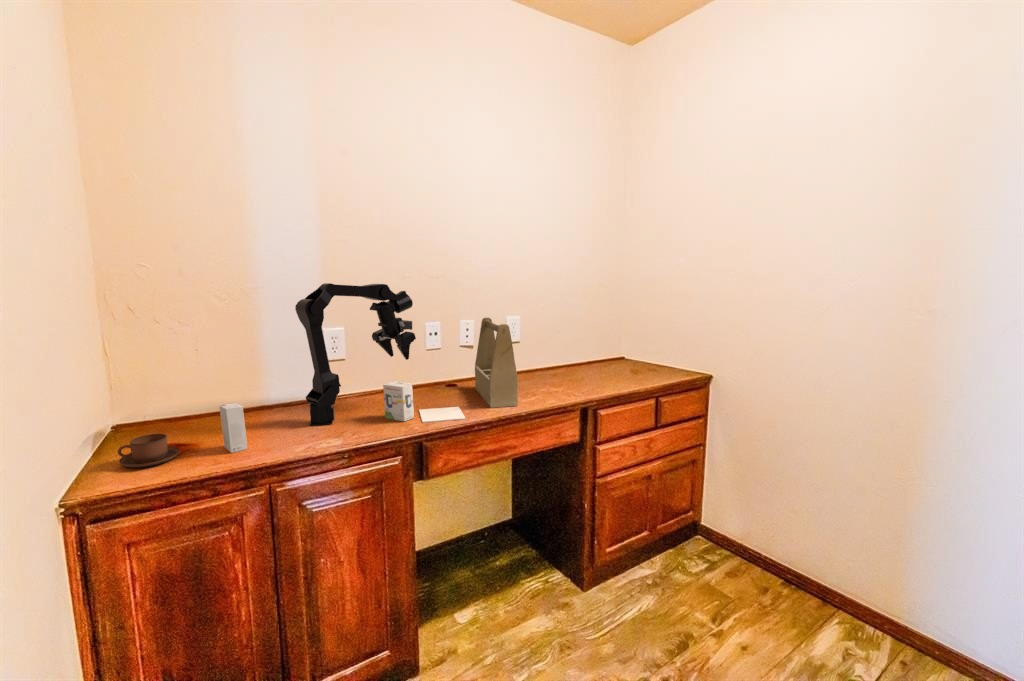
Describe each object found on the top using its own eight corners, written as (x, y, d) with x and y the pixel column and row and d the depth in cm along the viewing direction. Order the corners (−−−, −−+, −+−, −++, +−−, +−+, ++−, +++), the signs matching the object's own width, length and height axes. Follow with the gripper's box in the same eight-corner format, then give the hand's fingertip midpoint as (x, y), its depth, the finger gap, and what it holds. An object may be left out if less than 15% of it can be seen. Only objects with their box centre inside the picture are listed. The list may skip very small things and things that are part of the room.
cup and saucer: (126, 476, 109) (123, 451, 108) (115, 462, 117) (112, 439, 116) (186, 461, 118) (183, 437, 117) (172, 449, 126) (170, 427, 125)
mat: (422, 422, 148) (422, 421, 148) (418, 410, 162) (418, 409, 162) (465, 419, 152) (465, 418, 152) (458, 407, 165) (458, 406, 165)
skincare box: (248, 449, 126) (244, 406, 124) (229, 454, 122) (226, 409, 121) (240, 443, 130) (237, 401, 128) (222, 448, 126) (218, 405, 125)
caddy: (474, 389, 193) (473, 317, 189) (499, 387, 196) (499, 316, 191) (489, 408, 165) (489, 324, 161) (518, 406, 168) (518, 323, 163)
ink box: (414, 418, 153) (413, 383, 152) (404, 422, 149) (402, 386, 147) (394, 414, 157) (393, 380, 156) (383, 418, 153) (382, 383, 151)
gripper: (421, 311, 163) (432, 351, 169) (389, 308, 175) (401, 346, 181) (396, 323, 155) (409, 364, 161) (365, 319, 167) (378, 358, 173)
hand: (399, 357), depth 169 cm, fingers open, 9 cm apart
